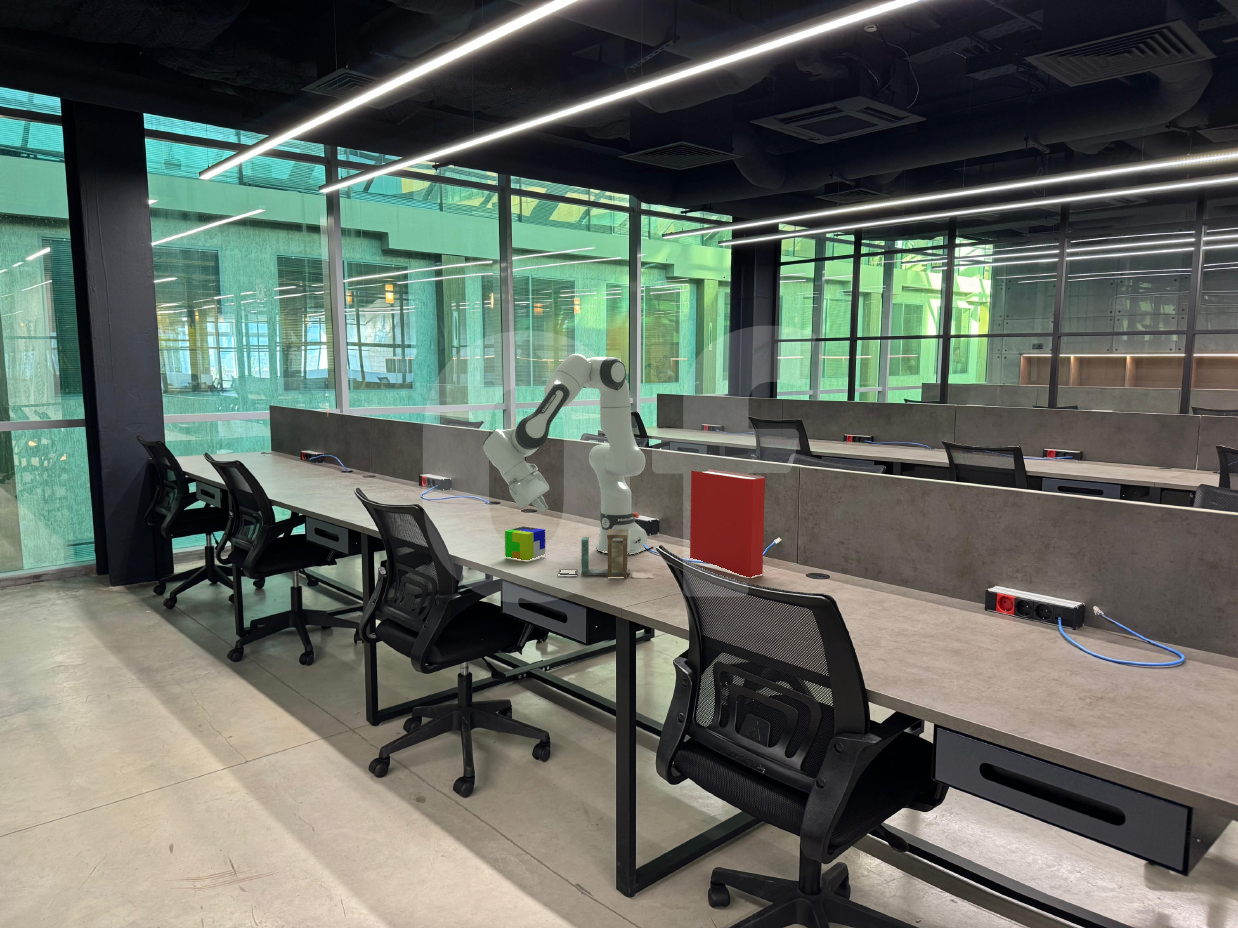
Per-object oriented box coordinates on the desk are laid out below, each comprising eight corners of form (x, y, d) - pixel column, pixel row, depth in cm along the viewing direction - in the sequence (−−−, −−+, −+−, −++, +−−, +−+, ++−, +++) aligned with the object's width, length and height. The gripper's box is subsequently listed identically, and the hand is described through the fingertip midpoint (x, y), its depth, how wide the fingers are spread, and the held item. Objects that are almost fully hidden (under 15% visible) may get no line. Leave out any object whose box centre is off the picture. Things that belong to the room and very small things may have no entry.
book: (689, 562, 273) (691, 470, 269) (706, 559, 278) (708, 468, 274) (748, 579, 251) (750, 479, 248) (765, 575, 256) (767, 477, 252)
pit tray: (557, 576, 253) (557, 573, 253) (559, 572, 259) (559, 569, 259) (576, 577, 253) (576, 573, 253) (577, 572, 259) (577, 569, 259)
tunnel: (606, 578, 251) (607, 534, 249) (608, 571, 260) (608, 528, 258) (627, 578, 251) (627, 534, 249) (627, 571, 260) (628, 529, 258)
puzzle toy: (545, 557, 280) (545, 529, 279) (527, 562, 272) (527, 534, 271) (523, 553, 286) (523, 526, 285) (505, 559, 277) (504, 530, 276)
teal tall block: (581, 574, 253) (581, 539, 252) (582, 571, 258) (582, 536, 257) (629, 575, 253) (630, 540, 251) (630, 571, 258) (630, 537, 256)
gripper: (513, 477, 242) (541, 513, 242) (537, 463, 261) (562, 497, 261) (499, 488, 244) (526, 524, 244) (523, 474, 263) (548, 507, 263)
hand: (545, 510), depth 253 cm, fingers closed
